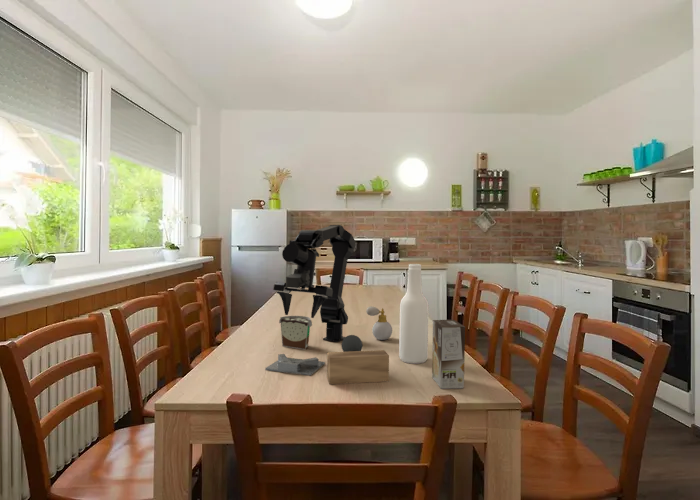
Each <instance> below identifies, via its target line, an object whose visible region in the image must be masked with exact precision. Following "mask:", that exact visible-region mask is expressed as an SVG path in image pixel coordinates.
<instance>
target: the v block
mask: <svg viewBox="0 0 700 500" xmlns="http://www.w3.org/2000/svg"><path fill="white" fill-rule="evenodd" d="M324 365H326V361H320V360H319V358H317V357H316V356H315V357H310V358H305V359H304V358H303V359H302V358H293V357H287V356H286V354H284V353H282V354H281V353H280V354H278V356H277V360H276V361H274V362H273V363H270V364H269V365H267V366H266V367H265V369H264V370H265V371H270V372H277V373H279V372H280V373H285V374H286V373H287V374H292V375H295V374H296V375H302V376H312V375H313V374H314V373H315V372H317V371H318V370H319V369H320V368H322V367H323V366H324Z"/></svg>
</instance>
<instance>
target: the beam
mask: <svg viewBox="0 0 700 500" xmlns="http://www.w3.org/2000/svg"><path fill="white" fill-rule="evenodd" d="M326 357H327V358H326V378H327V382H328V384H329V385H341V384H343V385H344V384H345V385H346V384H359V383H378V382H379V383H381V382H389V380H390V377H389V376H390V355H389V353H388V352H387V351H386V350H385V349H377V350H376V349H375V350H361V351H349V352H343V351H329V352H327V355H326Z"/></svg>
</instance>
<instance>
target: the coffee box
mask: <svg viewBox="0 0 700 500" xmlns="http://www.w3.org/2000/svg"><path fill="white" fill-rule="evenodd" d="M465 344H466V326H464V324H461V323H460V322H458V321H457V320H455V319H433V320H432V351H431V352H432V356H431V357H432V363H431V368H432V369H431V370H432V371H431V378H432V379H433V381H434V382H435V383H436V384H437V385H438V387H439V388H440V389H441V390H442V389H451V390H452V389H464V386H465V359H466V358H465V357H466V356H465V353H466V352H465V349H466V345H465Z"/></svg>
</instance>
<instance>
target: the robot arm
mask: <svg viewBox="0 0 700 500" xmlns="http://www.w3.org/2000/svg"><path fill="white" fill-rule="evenodd" d="M324 241H329V244H330V245H331V251H332V254H333V256H334V260H333V261H334V262H333V266H332V271H331V272H332V273H331V277H330V284H329V286H327V285H319V284H317V285H315V284H314V277H316V274H317V273H316V272H315V269H316V260H317V258H319V257H320V254H319V252H318V250H317V249H316V248H319V247H321V246H322V245H324ZM355 248H356V240H355V238H354V237H353V235H352V233H350V232H349V231H348V230H346V229H345V228H344V226H343V225H341V224H330V225H328V226H326V227H325V226H324V227H322V228H319V229H314V230H313V229H301V230H300V231H299V232H298V234H297V236H296V237H295V239H294V240H289V243H288V244H286V246H284V248H283V250H282V254H281V255H282V259H283V260H284V261H285V262H288V263H291V264H293V265H296V268H294V270H293V273H292V274H289V275H286V276H285V282H281V281H276V282H275V283H274V284H273V288H272V290H273V291H276V294H278V295H279V297H280V299H281V301H282V305H283V309H284V315H285V316H289V312H290V309H291V308H290V307H291V302H292V298H293V293H291V292H298V293H309V294H312V299H313V302H312V307H311V312H310V319H311V318H312V319H314V318H315V316H316V314H317V313H318V311H319V314H320V320H321V323H325V324H326V328H325V333H326V334H325V336H324V337H322V340H323V341H329V342H335V343H338V342H342V341H343V339H344V338H345V337H346V336H343V330H344V329H343V326H344V325H347V324H348V321H349V316H348V314H347V312H346V310H345V303H344V301H343V290H344V284H345V277H346V272H347V271H346V270H347V266H348V265H347V263H348V260H349V259H350V258H351V256H353V254H354V250H355ZM319 309H320V310H319Z"/></svg>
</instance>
